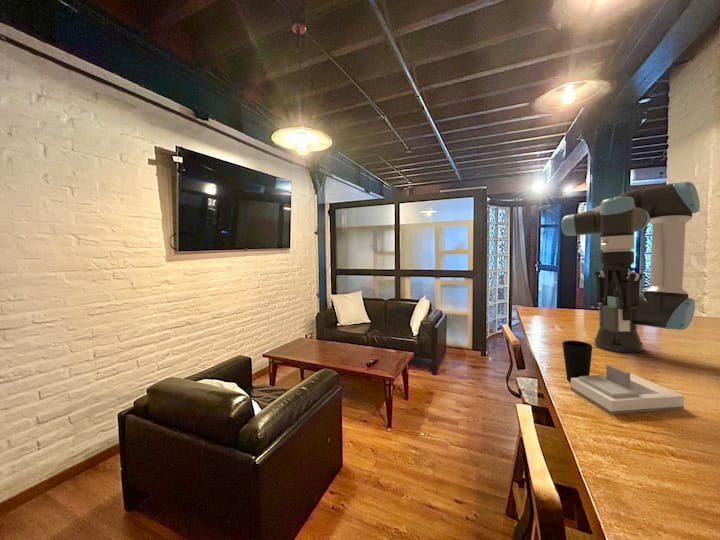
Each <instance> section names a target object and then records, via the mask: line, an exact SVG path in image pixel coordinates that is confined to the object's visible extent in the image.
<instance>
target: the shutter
mask: <svg viewBox="0 0 720 540" xmlns="http://www.w3.org/2000/svg"><path fill="white" fill-rule="evenodd" d="M605 367H606V371H605V372H606V375H604V374H594V375H593V374H592V375H589V376H579V379H580V380H582V381H584V382H586V383H588V384H590V385H591V386H593V387H595V388H597V389H599V390H600V391H602V392H604V393H606V394H608V395H610V396H611V397H622V396H636V395H640V392H638V391H636V390H634V389H632V388H630V374H631V373H630V372H629V371H626V370H624V369H621V368H619V367H617V366H614V365H612V364H607V365H606V366H605Z"/></svg>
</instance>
